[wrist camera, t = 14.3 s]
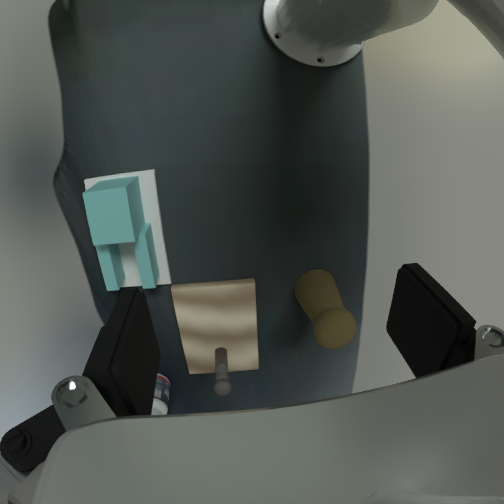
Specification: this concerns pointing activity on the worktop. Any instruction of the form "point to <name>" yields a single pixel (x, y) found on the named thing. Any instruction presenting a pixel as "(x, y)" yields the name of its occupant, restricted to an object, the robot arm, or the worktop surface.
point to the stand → (218, 328)
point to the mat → (151, 216)
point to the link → (120, 229)
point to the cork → (325, 309)
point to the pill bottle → (161, 396)
